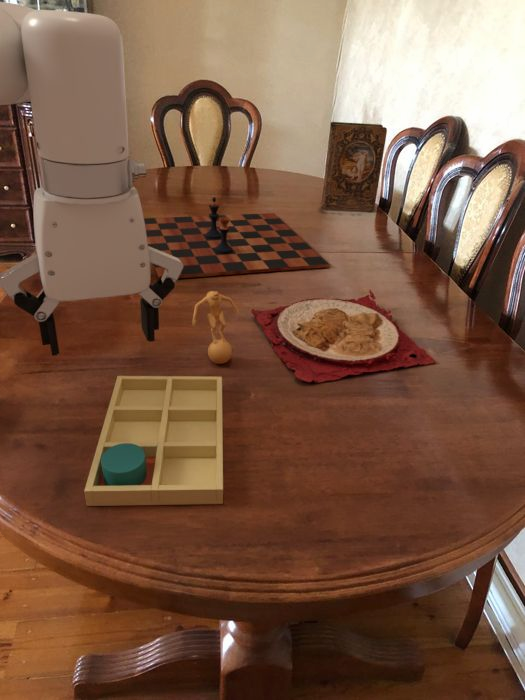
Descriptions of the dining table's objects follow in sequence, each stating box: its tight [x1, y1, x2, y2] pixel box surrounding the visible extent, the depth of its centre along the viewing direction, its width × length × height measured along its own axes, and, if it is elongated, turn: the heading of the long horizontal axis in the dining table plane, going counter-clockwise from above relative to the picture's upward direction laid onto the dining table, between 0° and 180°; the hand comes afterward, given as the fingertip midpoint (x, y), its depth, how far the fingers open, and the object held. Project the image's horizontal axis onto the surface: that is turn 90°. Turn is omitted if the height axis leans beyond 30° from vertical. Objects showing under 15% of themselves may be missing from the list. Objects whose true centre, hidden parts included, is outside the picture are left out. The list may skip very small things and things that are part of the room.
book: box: [320, 121, 388, 213], centre depth 161 cm, size 16×6×25 cm, turn 92°
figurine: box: [191, 290, 241, 365], centre depth 84 cm, size 8×6×12 cm
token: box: [101, 443, 147, 486], centre depth 62 cm, size 5×5×3 cm
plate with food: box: [251, 289, 437, 384], centre depth 94 cm, size 24×26×3 cm
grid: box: [83, 375, 224, 507], centre depth 69 cm, size 15×23×2 cm
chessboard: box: [144, 197, 330, 280], centre depth 131 cm, size 40×40×11 cm
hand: (102, 341), depth 55 cm, fingers open, 9 cm apart
